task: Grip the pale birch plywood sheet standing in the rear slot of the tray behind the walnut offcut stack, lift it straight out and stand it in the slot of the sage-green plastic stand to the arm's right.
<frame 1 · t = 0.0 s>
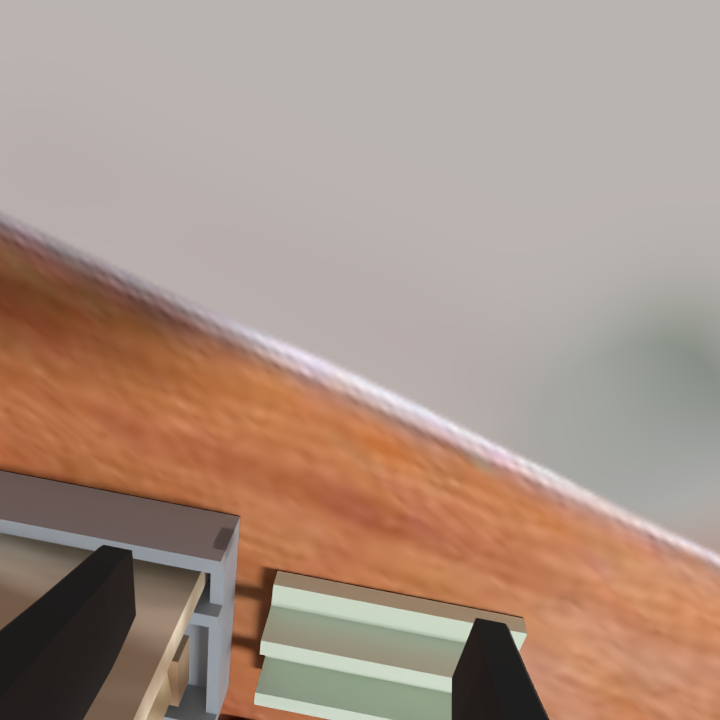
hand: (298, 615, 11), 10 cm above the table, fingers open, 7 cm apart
tray: (119, 588, 26), on the table
offcut lower: (115, 644, 27), point 1 cm above the table, touching offcut upper, tray
stand: (385, 646, 26), on the table
birch sheet: (105, 540, 24), point 1 cm above the table, touching tray
offcut upper: (110, 669, 26), point 2 cm above the table, touching offcut lower
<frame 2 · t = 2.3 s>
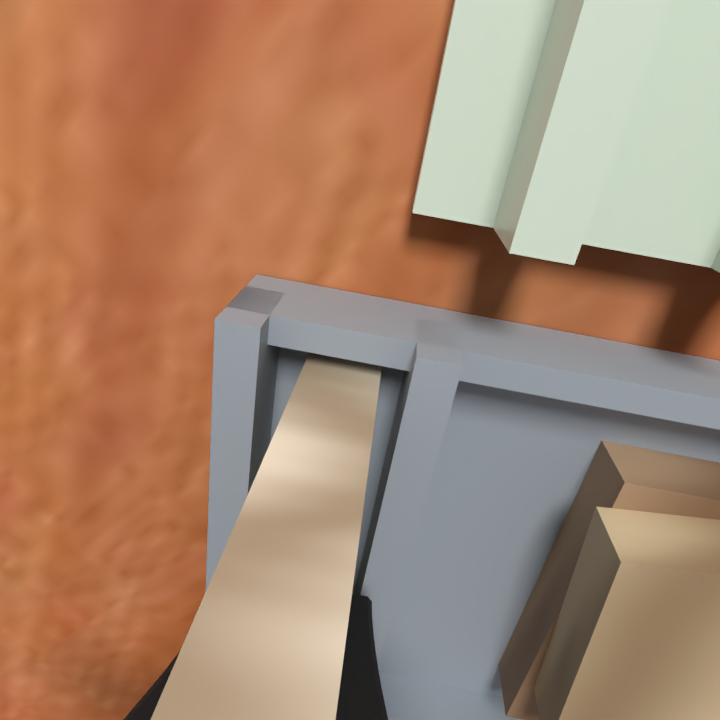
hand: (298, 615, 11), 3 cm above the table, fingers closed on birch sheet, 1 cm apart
tray: (480, 533, 14), on the table
offcut lower: (617, 582, 13), point 1 cm above the table, touching offcut upper, tray
birch sheet: (319, 524, 13), point 1 cm above the table, touching gripper, tray
offcut upper: (638, 617, 11), point 2 cm above the table, touching offcut lower
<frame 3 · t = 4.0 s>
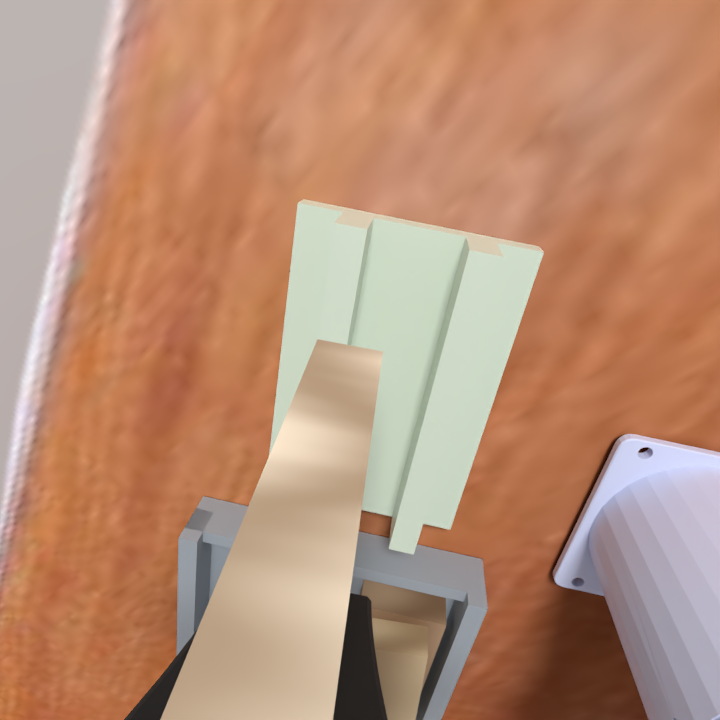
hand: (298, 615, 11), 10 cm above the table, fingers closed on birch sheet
tray: (323, 614, 26), on the table
offcut lower: (387, 644, 25), point 1 cm above the table, touching offcut upper, tray
stand: (385, 377, 20), on the table
birch sheet: (322, 509, 14), point 7 cm above the table, touching gripper
offcut upper: (383, 664, 24), point 2 cm above the table, touching offcut lower
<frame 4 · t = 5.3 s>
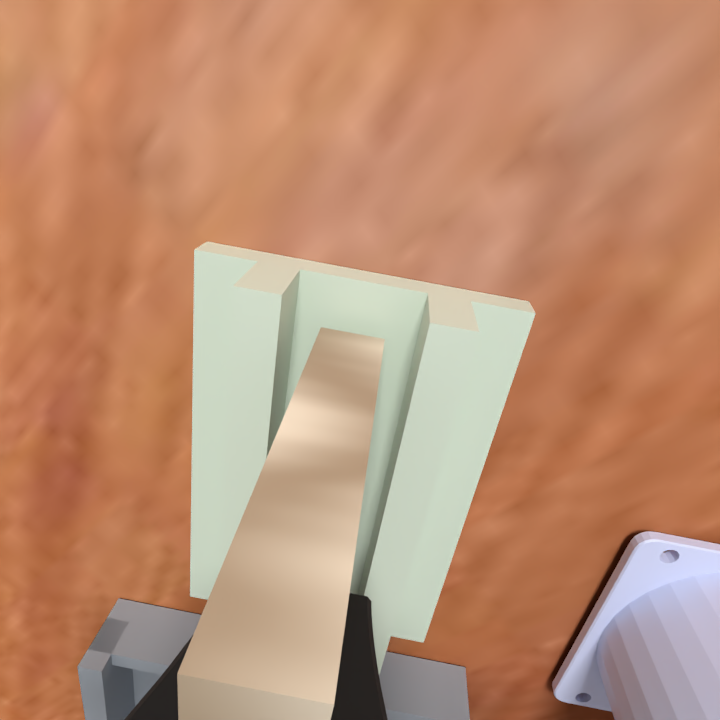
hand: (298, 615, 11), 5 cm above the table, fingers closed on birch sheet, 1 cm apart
stand: (333, 464, 15), on the table
birch sheet: (326, 494, 14), point 1 cm above the table, touching gripper
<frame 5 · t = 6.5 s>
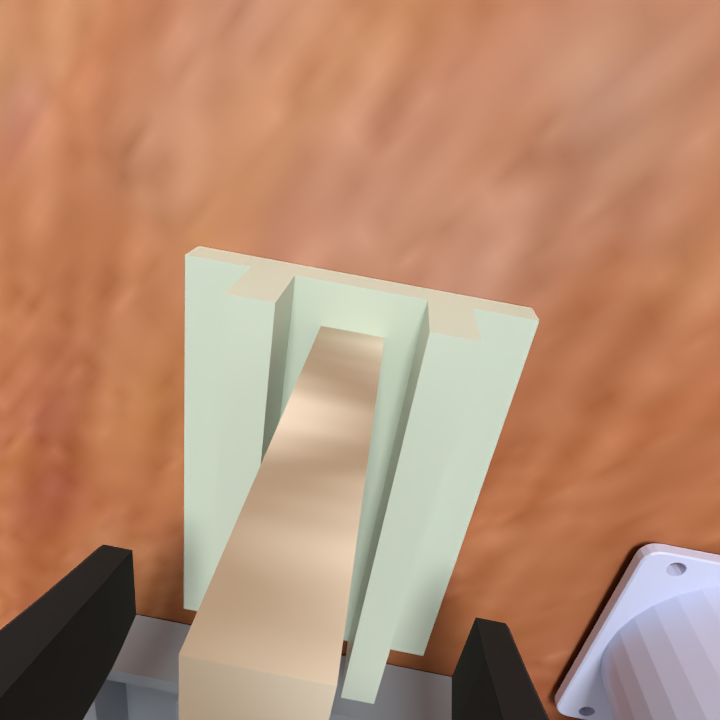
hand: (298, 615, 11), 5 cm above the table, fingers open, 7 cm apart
stand: (330, 474, 15), on the table
birch sheet: (325, 495, 14), point 1 cm above the table, touching stand
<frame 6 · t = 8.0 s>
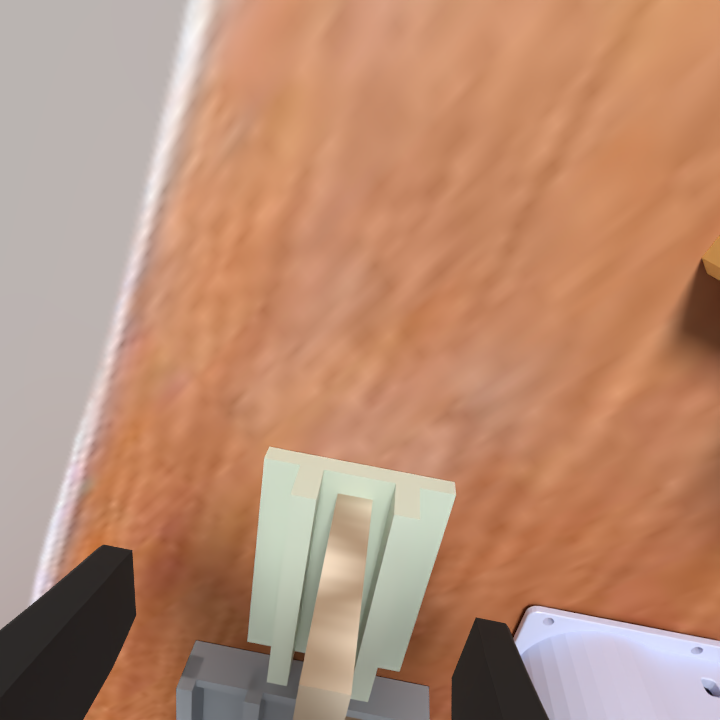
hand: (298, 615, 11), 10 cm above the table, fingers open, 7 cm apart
stand: (341, 563, 25), on the table
birch sheet: (338, 578, 24), point 1 cm above the table, touching stand
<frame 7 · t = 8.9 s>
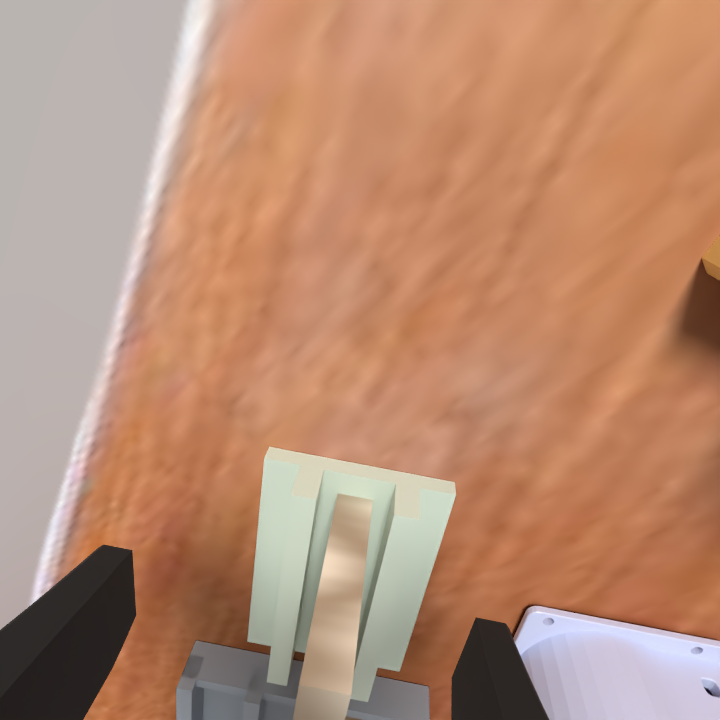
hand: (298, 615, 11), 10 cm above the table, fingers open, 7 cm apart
stand: (341, 563, 25), on the table
birch sheet: (338, 578, 24), point 1 cm above the table, touching stand
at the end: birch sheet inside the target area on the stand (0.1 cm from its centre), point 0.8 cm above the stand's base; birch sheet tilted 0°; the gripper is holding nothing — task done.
